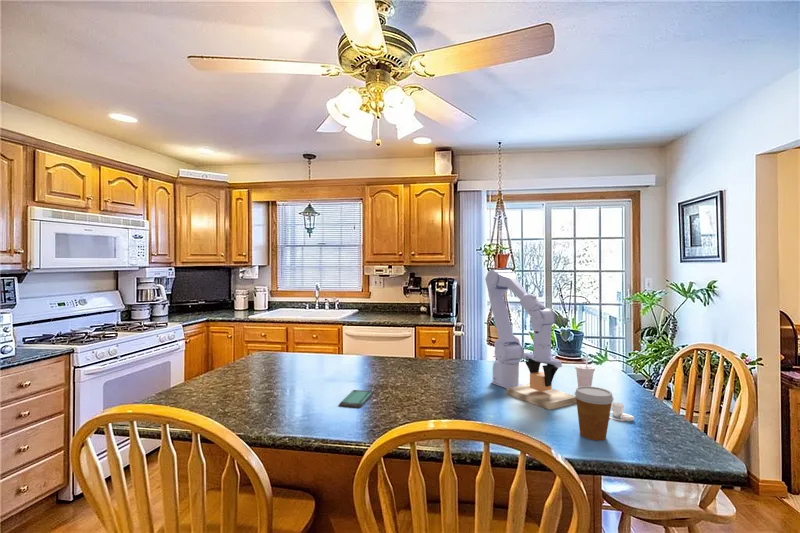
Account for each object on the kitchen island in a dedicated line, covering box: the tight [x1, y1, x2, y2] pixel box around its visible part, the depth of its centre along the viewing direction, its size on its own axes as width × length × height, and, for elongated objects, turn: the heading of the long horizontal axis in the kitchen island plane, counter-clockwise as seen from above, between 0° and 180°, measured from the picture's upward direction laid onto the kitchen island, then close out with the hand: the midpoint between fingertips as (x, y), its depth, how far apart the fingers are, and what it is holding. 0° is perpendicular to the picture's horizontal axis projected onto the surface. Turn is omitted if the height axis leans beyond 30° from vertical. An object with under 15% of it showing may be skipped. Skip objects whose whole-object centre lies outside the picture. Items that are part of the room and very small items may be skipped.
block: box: [529, 371, 553, 392], centre depth 140 cm, size 5×5×5 cm
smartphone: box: [339, 389, 374, 409], centre depth 135 cm, size 7×1×15 cm
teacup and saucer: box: [609, 401, 635, 422], centre depth 125 cm, size 9×8×4 cm
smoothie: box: [574, 354, 596, 388], centre depth 146 cm, size 6×6×14 cm
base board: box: [506, 383, 577, 410], centre depth 141 cm, size 18×14×2 cm
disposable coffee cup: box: [573, 386, 615, 441], centre depth 110 cm, size 10×10×12 cm
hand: (541, 383), depth 141 cm, fingers closed on block, 5 cm apart
